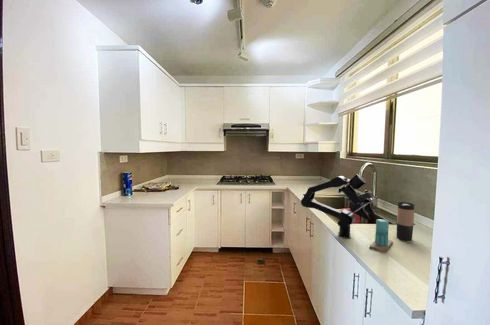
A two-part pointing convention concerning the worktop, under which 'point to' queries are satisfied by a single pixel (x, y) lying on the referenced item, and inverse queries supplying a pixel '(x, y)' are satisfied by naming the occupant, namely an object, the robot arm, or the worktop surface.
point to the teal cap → (381, 232)
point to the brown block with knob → (380, 247)
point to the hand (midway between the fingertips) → (372, 218)
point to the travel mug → (405, 221)
